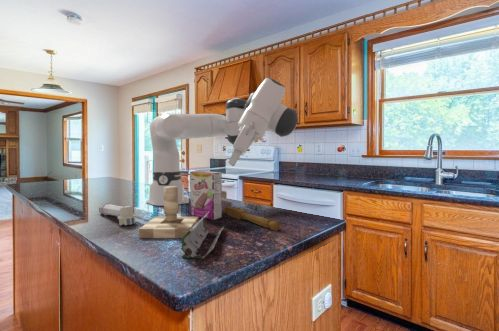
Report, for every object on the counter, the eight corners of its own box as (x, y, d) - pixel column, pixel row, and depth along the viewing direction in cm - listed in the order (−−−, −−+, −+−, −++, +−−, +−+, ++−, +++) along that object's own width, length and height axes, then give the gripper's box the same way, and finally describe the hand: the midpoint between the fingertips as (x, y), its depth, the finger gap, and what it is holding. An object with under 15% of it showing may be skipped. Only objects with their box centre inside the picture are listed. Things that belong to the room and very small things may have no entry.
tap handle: (272, 222, 92) (221, 205, 116) (272, 232, 92) (221, 213, 117) (280, 221, 94) (228, 205, 118) (280, 230, 94) (228, 212, 118)
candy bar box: (189, 216, 111) (189, 171, 110) (199, 213, 116) (198, 170, 114) (213, 220, 105) (213, 173, 104) (222, 217, 109) (222, 172, 108)
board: (155, 224, 101) (155, 216, 100) (198, 224, 100) (198, 216, 100) (139, 237, 86) (138, 229, 85) (189, 238, 85) (189, 229, 85)
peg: (166, 227, 97) (165, 186, 96) (179, 227, 97) (179, 186, 96) (162, 230, 93) (161, 188, 92) (176, 231, 92) (175, 188, 91)
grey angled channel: (193, 271, 69) (211, 239, 94) (214, 250, 69) (226, 223, 94) (170, 248, 69) (194, 222, 94) (191, 227, 69) (209, 206, 94)
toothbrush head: (111, 202, 118) (137, 202, 100) (112, 220, 118) (139, 223, 100) (96, 204, 115) (121, 204, 96) (97, 222, 114) (122, 226, 96)
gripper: (263, 125, 85) (239, 169, 85) (259, 135, 106) (239, 170, 105) (244, 114, 85) (219, 158, 85) (243, 126, 106) (223, 161, 105)
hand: (230, 164), depth 95 cm, fingers open, 8 cm apart
